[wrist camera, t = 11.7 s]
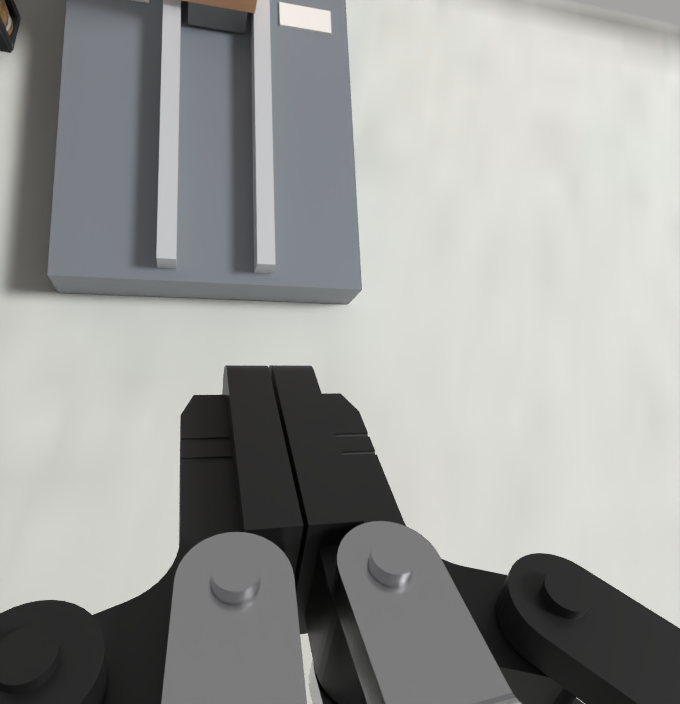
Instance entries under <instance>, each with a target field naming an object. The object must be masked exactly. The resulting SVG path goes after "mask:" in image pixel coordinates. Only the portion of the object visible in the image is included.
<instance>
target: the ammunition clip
mask: <svg viewBox="0 0 680 704" xmlns="http://www.w3.org/2000/svg"><path fill="white" fill-rule="evenodd" d="M20 19H21V17H20V15H19V12H18V10H17V8H16V5H15V3H14V0H0V51H5V52H9V53H11V51H12V50H13V48H14V44H15V39H16V35H17V31H18V27H19V23H20Z"/></svg>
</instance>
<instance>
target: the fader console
mask: <svg viewBox="0 0 680 704" xmlns="http://www.w3.org/2000/svg"><path fill="white" fill-rule="evenodd" d="M47 276H48V277H49V279H50V280H51V282H52V283H53V285H54V287H55V288H56V290H57V291H58V293H80V294H106V295H132V296H157V297H183V298H208V299H234V300H260V301H285V302H311V303H336V304H349V303H350V302H351V301H352V300H353V299H354V298H355V296H356V295H357V294H358V293H359V292H360V291H361V290H362V284H361V267H360V249H359V232H358V214H357V196H356V179H355V161H354V144H353V126H352V108H351V91H350V73H349V55H348V38H347V20H346V3H345V0H257V4H256V10H255V13H250V12H248V14H247V21H246V28H245V34H244V33H238V32H232V31H226V30H220V29H214V28H208V27H202V26H196V25H190V24H188V2H187V1H182V0H66V14H65V29H64V43H63V57H62V71H61V86H60V100H59V114H58V128H57V143H56V157H55V171H54V185H53V200H52V214H51V228H50V242H49V257H48V271H47Z"/></svg>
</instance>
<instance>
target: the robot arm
mask: <svg viewBox="0 0 680 704" xmlns="http://www.w3.org/2000/svg"><path fill="white" fill-rule="evenodd" d="M367 433H368V432H367V430H366V427H365V425H364V423H363V420H362V418H361V415H360V413H359V411H358V410H357V409H356V408H355V407H354V406H353V405H352V404H351V403H350V402H349V401H348V400H347V399H346V398H344V397H343V396H342V395H341V394H321V391H320V388H319V385H318V382H317V379H316V376H315V373H314V370H313V368H312V366H269V368H268V366H225V368H224V377H223V393H222V395H194V396H193V397H192V399H191V400H190V402H189V403H188V405H187V406H186V408H185V409H184V411H183V412H182V414H181V427H180V512H179V550H178V553H177V556H176V558H175V561H174V563H173V565H172V566H171V568H170V569H169V570H168V572H167V573H166V574H165V575H164V577H163V578H162V579H161V580H160V581H159V582H158V583H156V584H155V585H154V586H153V587H152V588H150V589H149V590H147V591H146V592H144V593H143V594H141V595H139V596H137V597H135V598H133V599H131V600H129V601H127V602H124V603H122V604H119V605H117V606H114V607H112V608H109V609H107V610H104V611H102V612H99V613H97V614H94V615H91V614H90V613H89V612H87V611H86V610H85V609H84V608H82V607H80V606H77V605H75V604H73V603H69V602H65V601H57V600H43V601H35V602H30V603H26V604H23V605H19V606H16V607H13V608H11V609H9V610H7V611H5V612H3V613H0V704H307V700H306V690H305V680H304V670H303V660H302V650H301V640H300V634H306V633H308V636H309V641H310V647H311V652H312V657H313V660H312V664H311V668H310V674H309V689H310V695H311V699H312V702H313V704H584V703H585V704H680V628H678V627H676V626H675V625H673V624H672V623H670V622H668V621H667V620H665V619H664V618H662V617H660V616H659V615H657V614H656V613H654V612H652V611H651V610H649V609H648V608H646V607H644V606H643V605H641V604H640V603H638V602H636V601H635V600H633V599H632V598H630V597H629V596H627V595H625V594H624V593H622V592H621V591H619V590H617V589H616V588H614V587H613V586H611V585H609V584H608V583H606V582H605V581H603V580H601V579H600V578H598V577H597V576H595V575H593V574H592V573H590V572H589V571H587V570H585V569H584V568H582V567H581V566H579V565H577V564H575V563H573V562H572V561H569V560H567V559H565V558H562V557H559V556H555V555H551V554H542V553H536V554H530V555H527V556H524V557H522V558H520V559H519V560H517V561H516V562H515V564H514V565H513V566H512V568H511V570H510V572H509V574H508V575H503V574H498V573H493V572H489V571H484V570H479V569H474V568H469V567H464V566H460V565H456V564H453V563H450V562H448V561H445V560H443V559H441V558H440V556H439V554H438V553H437V551H436V549H435V548H434V547H433V546H432V545H431V543H430V542H429V541H428V540H427V539H425V538H424V537H423V536H422V535H420V534H419V533H418V532H416V531H415V530H413V529H411V528H409V527H407V526H406V525H405V523H404V521H403V518H402V516H401V513H400V511H399V509H398V506H397V504H396V501H395V499H394V496H393V494H392V491H391V489H390V486H389V484H388V482H387V479H386V477H385V474H384V472H383V469H382V467H381V464H380V462H379V459H378V457H377V455H375V450H374V447H373V445H372V442H371V440H370V437H368V435H367ZM576 697H577V698H578V699H580V700H581V701H582V702H584V703H582V702H581V701H580V700H578V699H577V698H576Z"/></svg>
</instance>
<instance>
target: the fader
mask: <svg viewBox="0 0 680 704" xmlns="http://www.w3.org/2000/svg"><path fill="white" fill-rule="evenodd" d="M182 1H187V2H188V24H190V25H196V26H202V27H208V28H214V29H220V30H226V31H232V32H238V33H244V34H245V28H246V21H247V14H248V12H250V13H255V10H256V4H257V0H182Z"/></svg>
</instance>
